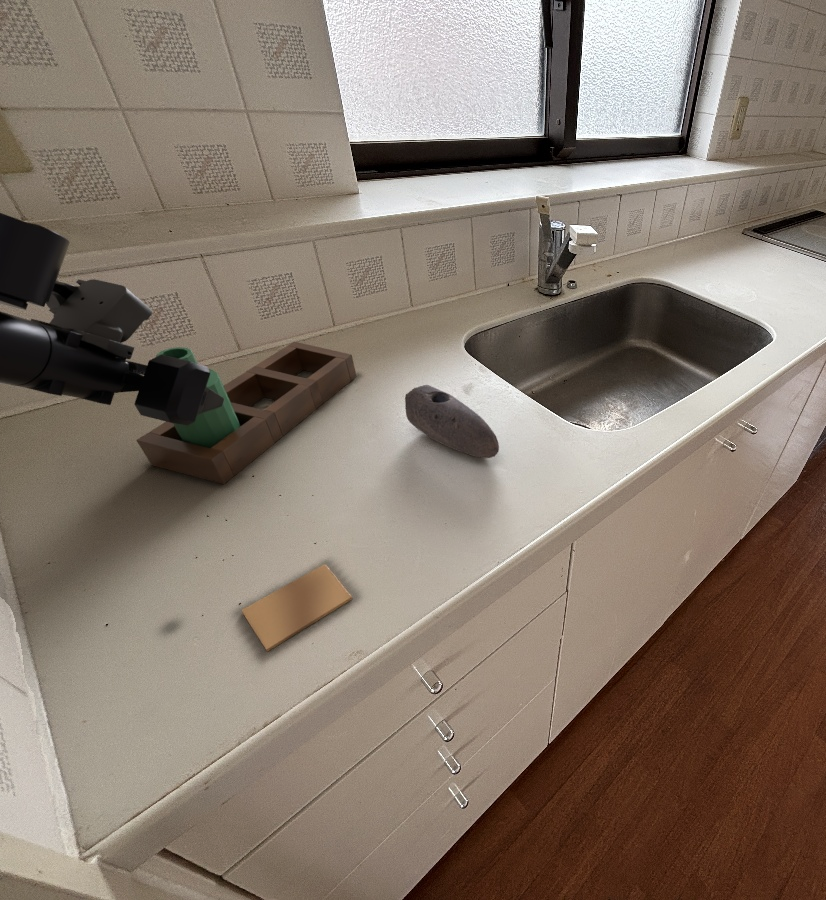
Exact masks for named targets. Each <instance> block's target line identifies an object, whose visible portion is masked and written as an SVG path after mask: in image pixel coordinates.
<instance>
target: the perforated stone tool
mask: <svg viewBox="0 0 826 900" xmlns="http://www.w3.org/2000/svg"><path fill="white" fill-rule="evenodd" d="M404 405H405V406H404V407H405V408H404V409H405V415H406V419H407V421H408V422H409V424H411V425H412V426H413V427H415V428H416V429H417V430H418V431H420V432H421V433H423V434H424V435H426V436H427V437H428V438H430V439H432V440H433V441H436V442H438V443H440V444H442V445H444V446H446V447H449V448H451V449H454V450H456V451H459V452H461V453H464V454H467V455H469V456H472V457H475V458H483V459H491V458H494V457H496V455H498V453H499V451H500V444H499V441H498V437H497V436H496V434H495V432H494V431H493V430H492V428H491V427H490V425H489V424H488V423H487V422H486V421H485V420H484V418H482V417H481V416H480V415H479V414H478V413H477V412H475V410H473V409H472V408H470V407H469V406H468V405H466V404H465V403H464V402H462V401H460V400H459V399H457V398H456V397H454V396H453V395H451V394H449V393H447V392H445V391H444V390H440V389H438V388H436V387H434V386H432V385H429V384H423V385H420V386H417V387H414V388H412V389H411V390H409V391H408V392H407V393H405V397H404Z"/></svg>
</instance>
